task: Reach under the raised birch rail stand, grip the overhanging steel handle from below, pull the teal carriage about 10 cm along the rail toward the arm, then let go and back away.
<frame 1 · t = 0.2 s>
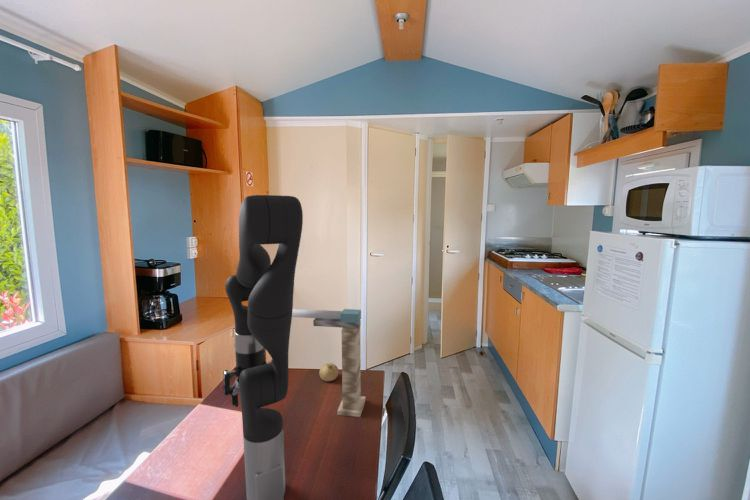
hand: (252, 400, 93), 18 cm above the table, tool pointing down, fingers open, 8 cm apart
rail stand: (327, 405, 121), on the table
onion: (329, 379, 139), on the table
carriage: (324, 314, 116), point 34 cm above the table, slide at 0.0 cm
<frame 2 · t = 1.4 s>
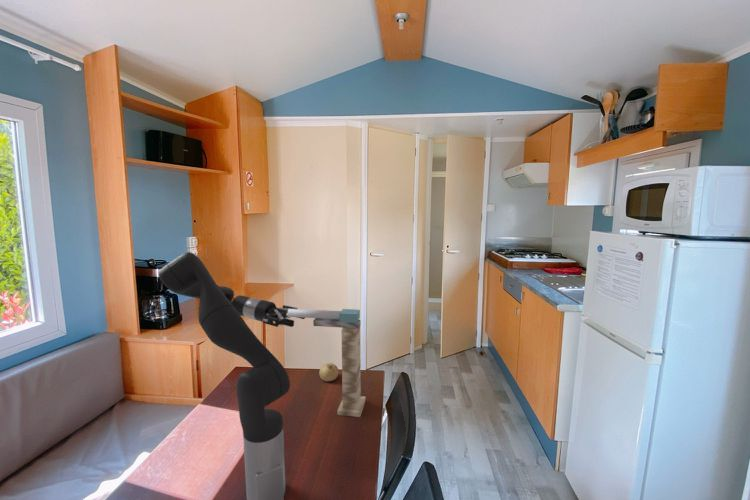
hand: (299, 319, 118), 31 cm above the table, tool horizontal, fingers open, 8 cm apart
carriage: (323, 314, 117), point 34 cm above the table, slide at 0.4 cm
everything else where it was.
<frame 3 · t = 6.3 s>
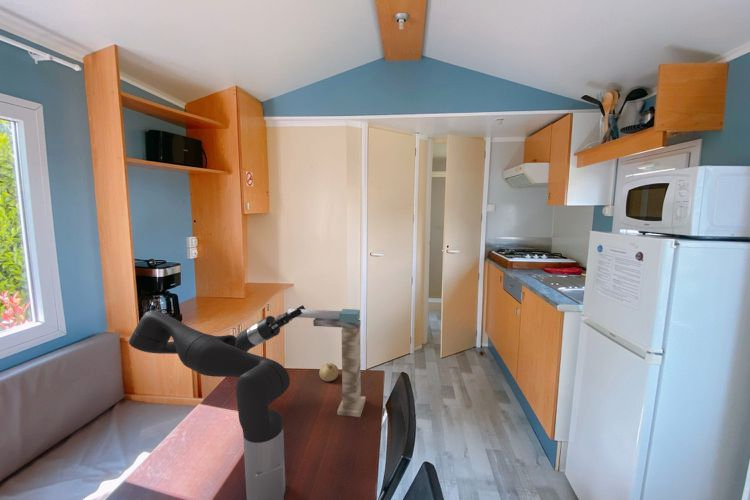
hand: (302, 309, 118), 35 cm above the table, tool pointing upward, fingers closed on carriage, 3 cm apart
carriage: (323, 314, 117), point 34 cm above the table, slide at 0.4 cm, touching gripper
everything else where it was.
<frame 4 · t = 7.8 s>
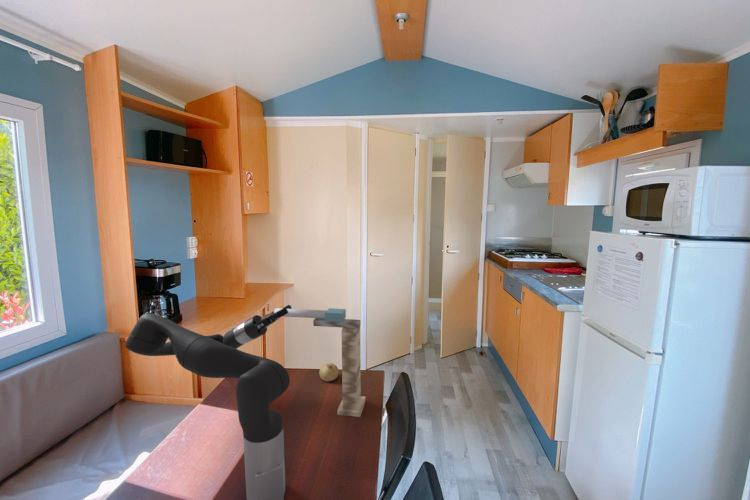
hand: (288, 308, 118), 35 cm above the table, tool pointing upward, fingers closed on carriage, 3 cm apart
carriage: (309, 313, 117), point 34 cm above the table, slide at 5.5 cm, touching gripper
everything else where it was.
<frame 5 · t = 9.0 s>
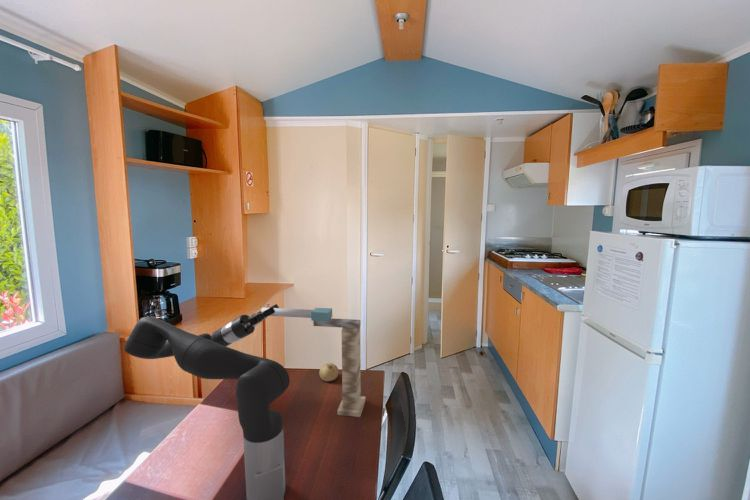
hand: (275, 308, 119), 35 cm above the table, tool pointing upward, fingers closed on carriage, 3 cm apart
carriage: (295, 313, 118), point 34 cm above the table, slide at 10.4 cm, touching gripper
everything else where it was.
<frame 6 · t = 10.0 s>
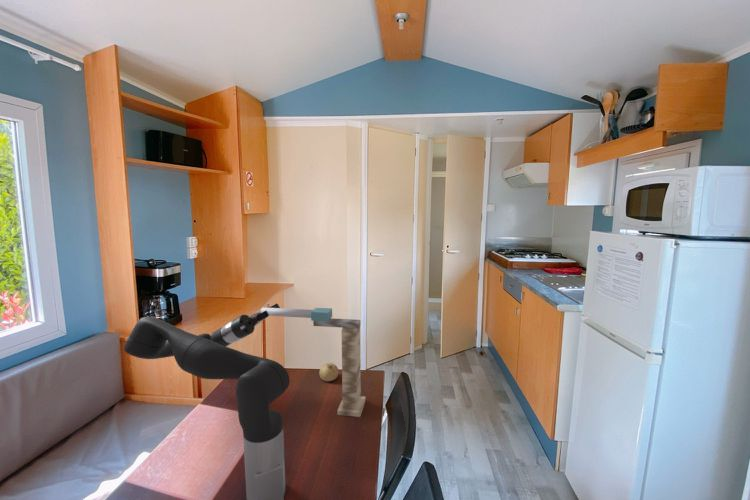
hand: (273, 309, 119), 35 cm above the table, tool pointing upward, fingers open, 8 cm apart
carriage: (295, 313, 118), point 34 cm above the table, slide at 10.4 cm
everything else where it was.
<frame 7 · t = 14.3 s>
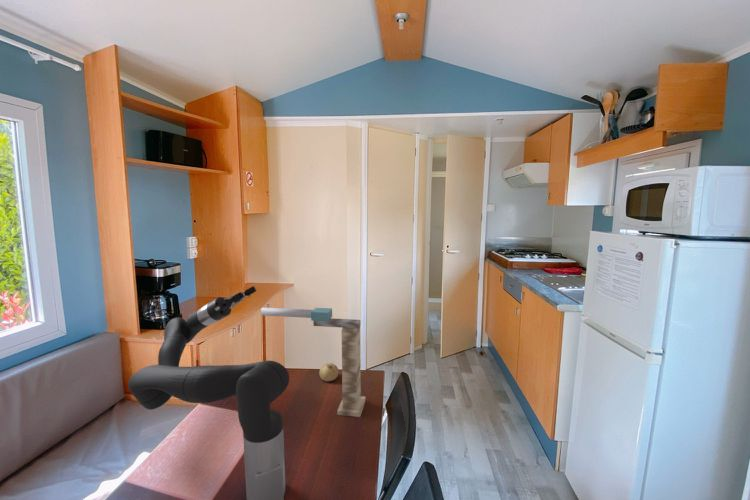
hand: (248, 291, 120), 41 cm above the table, tool pointing upward, fingers open, 8 cm apart
nothing on the table moved.
at the end: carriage slide at 10.4 cm; the gripper is holding nothing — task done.
